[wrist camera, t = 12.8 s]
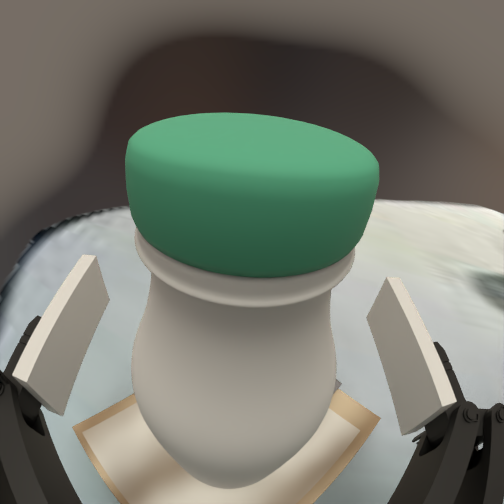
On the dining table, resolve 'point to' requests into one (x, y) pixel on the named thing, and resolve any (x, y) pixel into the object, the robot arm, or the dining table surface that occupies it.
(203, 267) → the milk bottle
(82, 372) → the dining table surface
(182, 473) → the clipboard
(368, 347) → the dining table surface
